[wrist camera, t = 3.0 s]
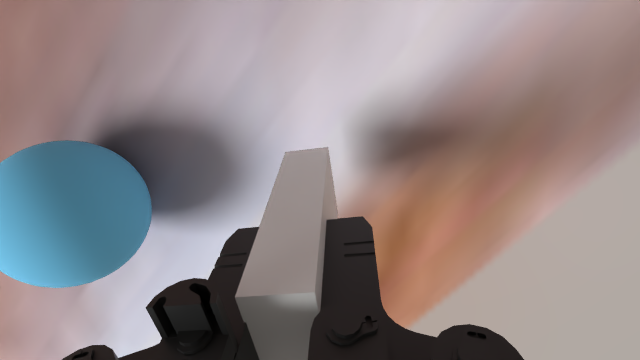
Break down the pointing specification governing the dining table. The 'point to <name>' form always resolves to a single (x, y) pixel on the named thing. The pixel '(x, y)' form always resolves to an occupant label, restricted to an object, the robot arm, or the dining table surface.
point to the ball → (69, 213)
